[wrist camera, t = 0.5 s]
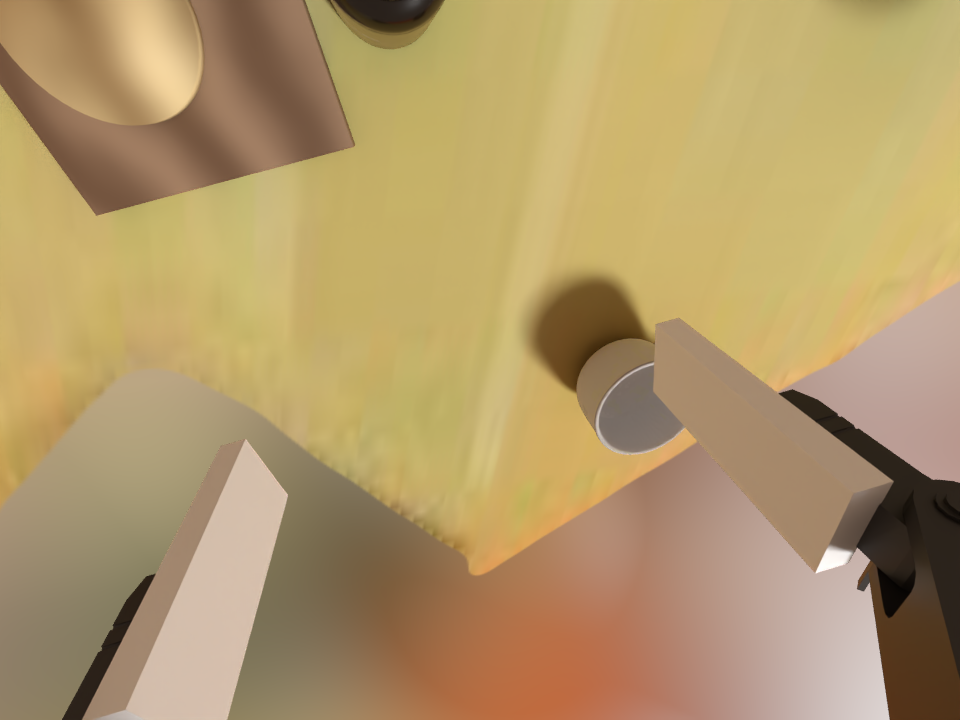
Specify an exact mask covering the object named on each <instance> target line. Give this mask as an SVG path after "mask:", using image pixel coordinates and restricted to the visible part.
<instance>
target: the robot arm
mask: <svg viewBox="0 0 960 720" xmlns="http://www.w3.org/2000/svg"><path fill="white" fill-rule="evenodd" d="M653 392H654V393H655V394H656V395H657V396H658V397H659V398H660V400H661V401H662V402H663V403H664V404H665V405H666V406H667V407H668V409H669V410H670V411H671V412H672V413H673V414H674V415H675V416H676V418H677V419H678V420H679V421H680V422H681V423H682V424H683V425H684V427H685V428H686V429H687V430H688V431H689V432H690V433H691V434H692V435H693V437H694V438H695V439H696V440H697V441H698V442H699V443H700V444H701V446H702V447H703V448H704V449H705V450H706V451H707V452H708V453H709V455H710V456H711V457H712V458H713V459H714V460H715V461H716V462H717V464H718V465H719V466H720V467H721V468H722V469H723V470H724V471H725V473H726V474H727V475H728V476H729V477H730V478H731V479H732V480H733V482H734V483H735V484H736V485H737V486H738V487H739V488H740V489H741V490H742V492H743V493H744V494H745V495H746V496H747V497H748V498H749V499H750V501H751V502H752V503H753V504H754V505H755V506H756V507H757V508H758V510H759V511H760V512H761V513H762V514H763V515H764V516H765V517H766V519H768V521H769V522H770V523H771V524H772V525H773V526H774V528H775V529H776V530H777V531H778V532H779V533H780V534H781V535H782V537H783V538H784V539H785V540H786V541H787V542H788V543H789V544H790V545H791V546H792V548H793V549H794V550H795V551H796V552H797V553H798V554H799V556H800V557H801V558H802V559H803V560H804V561H805V562H806V563H807V564H808V566H809V567H810V568H811V569H812V570H813V571H814V572H815V573H818V572H821V571H824V570H827V569H831V568H834V567H837V566H841V565H844V564H847V563H849V561H850V559H851V557H852V556H853V554H854V552H855V550H856V549H857V548H858V549H860V550H861V551H862V552H863V553H864V554H865V555H866V556H867V557H868V558H869V559H870V562H869V564H868V565H867V567H866V569H865V570H864V572H863V574H862V575H861V577H860V578H859V580H858V586H857V589H858V590H861V591H864V590H865V589H866V587H867V585H868V584H869V582H870V587H871V594H872V601H873V607H874V614H875V621H876V628H877V635H878V642H879V649H880V655H881V662H882V669H883V676H884V683H885V689H886V697H887V704H888V710H889V717H890V720H960V483H958V482H954V481H945V480H932V479H930V478H929V477H927V476H926V475H924V474H922V473H921V472H919V471H918V470H917V469H915V468H914V467H912V466H911V465H910V464H908V463H907V462H905V461H904V460H902V459H901V458H900V457H898V456H897V455H895V454H894V453H892V452H891V451H890V450H888V449H887V448H885V447H884V446H883V445H881V444H879V443H878V442H877V441H875V440H874V439H872V438H871V437H870V436H868V435H867V434H866V433H864V432H863V431H861V430H860V429H855V427H854V425H853V424H851V423H850V422H849V421H847V420H846V419H844V418H843V417H839V416H838V414H837V413H836V412H834V411H833V410H831V409H830V408H829V407H827V406H826V405H824V404H823V403H822V402H820V401H819V400H817V399H815V398H812V397H810V396H807V395H805V394H802V393H800V392H797V391H795V390H793V389H792V390H789V391H785V392H782V393H777V392H776V391H774V390H773V389H772V388H770V387H769V386H768V385H766V384H765V383H764V382H762V381H761V380H760V379H759V378H757V377H756V376H755V375H753V374H752V373H751V372H749V371H748V370H747V369H745V368H744V367H743V366H741V365H740V364H739V363H738V362H736V361H735V360H734V359H732V358H731V357H730V356H728V355H727V354H726V353H724V352H723V351H722V350H720V349H719V348H718V347H717V346H715V345H714V344H713V343H711V342H710V341H709V340H707V339H706V338H705V337H703V336H702V335H701V334H699V333H698V332H697V331H695V330H694V329H693V328H692V327H690V326H689V325H688V324H686V323H685V322H684V321H682V320H681V319H680V318H676V319H673V320H669V321H666V322H662V323H659V324H656V330H655V357H654V384H653ZM287 497H288V495H287V493H286V492H285V491H284V490H283V488H282V487H281V485H280V484H279V483H278V481H277V480H276V479H275V477H274V476H273V475H272V473H271V472H270V471H269V469H268V468H267V467H266V465H265V464H264V463H263V461H262V460H261V459H260V457H259V456H258V455H257V453H256V452H255V451H254V449H253V448H252V447H251V445H250V444H249V443H248V441H247V440H246V439H243V440H240V441H237V442H233V443H229V444H226V445H222V446H221V447H220V448H219V450H218V453H217V454H216V457H215V459H214V460H213V462H212V464H211V466H210V468H209V470H208V472H207V474H206V476H205V478H204V480H203V482H202V484H201V486H200V488H199V490H198V492H197V494H196V496H195V498H194V500H193V502H192V504H191V506H190V508H189V510H188V512H187V514H186V516H185V518H184V520H183V522H182V523H181V526H180V527H179V529H178V532H177V534H176V535H175V537H174V539H173V541H172V543H171V545H170V547H169V550H168V551H167V553H166V555H165V557H164V559H163V561H162V563H161V565H160V567H159V569H158V571H157V573H156V574H154V575H150V576H147V577H145V579H144V580H143V581H142V582H141V583H140V585H139V586H138V587H137V588H136V589H135V591H134V592H133V593H132V594H131V595H130V597H129V598H128V599H127V600H126V602H125V604H124V606H123V608H122V609H121V611H120V613H119V615H118V617H117V619H116V620H115V622H114V624H113V630H110V632H109V633H108V635H107V637H106V639H105V641H104V643H103V645H102V646H101V647H102V651H100V652H98V654H97V656H96V658H95V659H94V661H93V663H92V665H91V667H90V669H89V671H88V673H87V674H86V676H85V678H84V680H83V682H82V684H81V686H80V687H79V689H78V691H77V693H76V695H75V697H74V698H73V700H72V702H71V704H70V706H69V708H68V710H67V711H66V713H65V715H64V717H63V719H62V720H227V718H228V713H229V710H230V707H231V703H232V699H233V695H234V691H235V688H236V685H237V681H238V677H239V674H240V670H241V666H242V662H243V659H244V655H245V652H246V648H247V644H248V641H249V637H250V633H251V630H252V626H253V622H254V618H255V615H256V611H257V607H258V604H259V600H260V596H261V593H262V589H263V585H264V582H265V578H266V574H267V571H268V567H269V563H270V559H271V556H272V552H273V548H274V545H275V541H276V538H277V534H278V530H279V527H280V523H281V519H282V516H283V512H284V508H285V505H286V501H287Z"/></svg>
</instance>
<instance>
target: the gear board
mask: <svg viewBox="0 0 960 720" xmlns="http://www.w3.org/2000/svg"><path fill="white" fill-rule="evenodd" d="M0 84H1V86H2V87H3V88H4V90H5V91H6V92H7V94H8V95H9V97H10V98H11V99H12V101H13V102H14V103H15V105H16V106H17V107H18V109H19V110H20V112H21V113H22V114H23V116H24V117H25V118H26V120H27V121H28V123H29V124H30V125H31V127H32V128H33V129H34V131H35V132H36V133H37V135H38V136H39V138H40V139H41V140H42V142H43V143H44V144H45V146H46V147H47V149H48V150H49V151H50V153H51V154H52V155H53V157H54V158H55V160H56V161H57V162H58V164H59V165H60V166H61V168H62V169H63V170H64V172H65V173H66V175H67V176H68V177H69V179H70V180H71V181H72V183H73V184H74V186H75V187H76V188H77V190H78V191H79V192H80V194H81V195H82V196H83V198H84V199H85V201H86V202H87V203H88V205H89V206H90V207H91V209H92V210H93V212H94V213H95V214H96V216H97V215H100V214H104V213H108V212H112V211H115V210H119V209H123V208H127V207H130V206H134V205H138V204H142V203H145V202H149V201H153V200H157V199H160V198H164V197H168V196H172V195H175V194H179V193H183V192H186V191H190V190H194V189H198V188H201V187H205V186H209V185H213V184H216V183H220V182H224V181H228V180H231V179H235V178H239V177H243V176H246V175H250V174H254V173H258V172H261V171H265V170H269V169H273V168H276V167H280V166H284V165H287V164H291V163H295V162H299V161H302V160H306V159H310V158H314V157H317V156H321V155H325V154H329V153H332V152H336V151H340V150H344V149H347V148H351V147H354V146H355V143H354V140H353V137H352V134H351V131H350V129H349V126H348V123H347V120H346V117H345V114H344V111H343V108H342V106H341V103H340V100H339V97H338V94H337V91H336V88H335V86H334V83H333V80H332V77H331V74H330V71H329V68H328V65H327V63H326V60H325V57H324V54H323V51H322V48H321V45H320V42H319V40H318V37H317V34H316V31H315V28H314V25H313V22H312V19H311V17H310V14H309V11H308V8H307V5H306V2H305V0H0Z"/></svg>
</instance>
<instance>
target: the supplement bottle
mask: <svg viewBox="0 0 960 720" xmlns="http://www.w3.org/2000/svg"><path fill="white" fill-rule="evenodd" d="M331 2H332V4H333V6H334V8H335V10H336V11H337V13H338V14H339V16H340V18H341V19H342V21H343V22H344V23H345V24H346V26H347V27H348V28H349V29H350V30H351V31H352V32H353V33H354V34H355V35H356V36H358V37H359V38H360V39H362V40H363V41H365V42H366V43H368V44H370V45H373V46H375V47H379V48H383V49H397V48H402V47H405V46H407V45H409V44H411V43H413V42H414V41H416V40H417V39H418V38H419V37H420V36H421V35H422V34H423V33H424V32H425V30H426V29H427V28H428V26H429V25H430V23H431V22H432V20H433V18H434V17H435V15H436V14H437V12H438V11H439V9H440V7H441V6H442V4H443V2H444V0H331Z"/></svg>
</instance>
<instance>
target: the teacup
mask: <svg viewBox="0 0 960 720" xmlns="http://www.w3.org/2000/svg"><path fill="white" fill-rule="evenodd" d="M654 357H655V344H653V343H651V342H649V341H646V340H642V339H632V338H630V339H622V340H617V341H614V342H612V343H609V344H607V345H605V346H604V347H602V348H600V349H599V350H598V351H596V352H595V353H594V354H593V355H592V356H591V357H590V358H589V359H588V361H587V362H586V363H585V365H584V366H583V368H582V370H581V372H580V374H579V377H578V381H577V398H578V402H579V405H580V407H581V409H582V411H583V413H584V415H585V416H586V418H587V420H588V421H589V423H590V424H591V426H592V427H593V429H594V430H595V432H596V434H597V436H598V438H599V440H600V441H601V442H602V444H603V445H604V446H606V447H607V448H608V449H610V450H612V451H614V452H617V453H620V454H629V455H631V454H641V453H646V452H649V451H652V450H655V449H657V448H659V447H661V446H663V445H665V444H667V443H668V442H669V441H671V440H672V439H674V438H675V437H676V436H677V435H678V434H680V433H681V431H682V430H683V429H684V428H685V427H684V425H683V424H682V423H681V422H680V421H679V420H678V419H677V418H676V416H675V415H674V414H673V413H672V412H671V411H670V410H669V409H668V407H667V406H666V405H665V404H664V403H663V402H662V401H661V400H660V398H659V397H658V396H657V395H656V394H655V393H654V392H653V384H654Z"/></svg>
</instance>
